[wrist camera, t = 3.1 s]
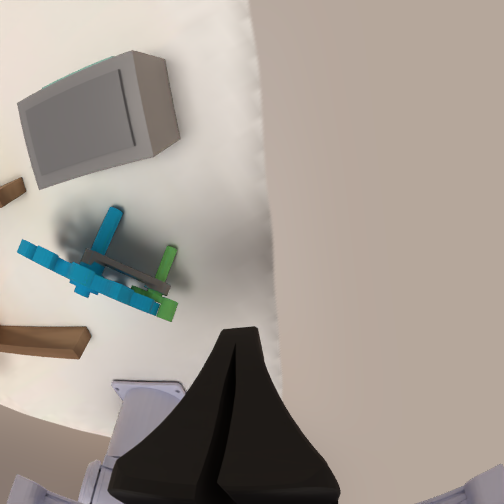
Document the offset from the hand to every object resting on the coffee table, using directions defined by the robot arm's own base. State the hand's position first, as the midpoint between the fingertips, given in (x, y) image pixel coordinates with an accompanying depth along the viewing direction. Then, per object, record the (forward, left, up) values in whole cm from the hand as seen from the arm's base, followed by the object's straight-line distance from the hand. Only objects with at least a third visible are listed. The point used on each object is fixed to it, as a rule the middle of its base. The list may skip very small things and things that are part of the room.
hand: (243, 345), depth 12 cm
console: (+10, +6, -9) cm, 15 cm away
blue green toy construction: (0, +10, -10) cm, 14 cm away
